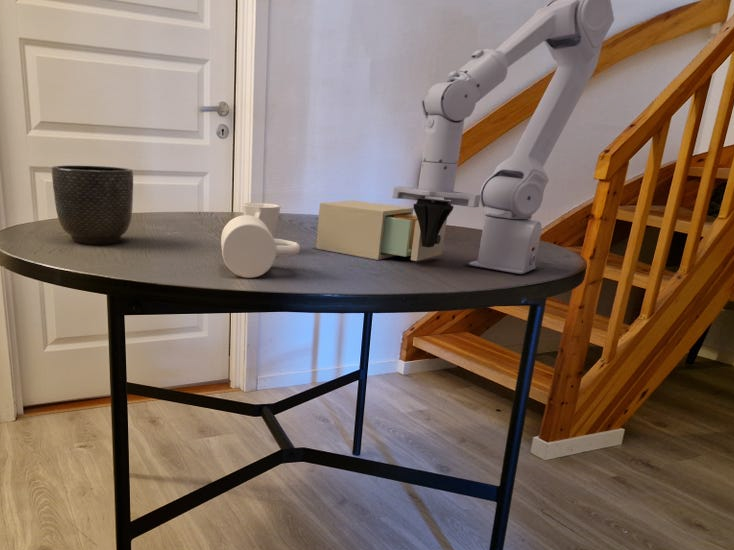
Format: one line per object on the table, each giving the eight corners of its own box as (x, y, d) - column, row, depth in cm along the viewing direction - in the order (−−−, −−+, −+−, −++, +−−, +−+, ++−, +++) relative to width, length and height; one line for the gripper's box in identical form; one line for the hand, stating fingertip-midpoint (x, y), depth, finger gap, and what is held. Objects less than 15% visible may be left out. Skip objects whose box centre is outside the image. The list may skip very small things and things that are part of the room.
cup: (279, 247, 118) (282, 204, 115) (273, 256, 108) (276, 210, 105) (243, 244, 118) (245, 201, 115) (234, 253, 109) (236, 207, 106)
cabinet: (407, 253, 119) (413, 207, 116) (378, 260, 111) (383, 211, 108) (348, 243, 127) (352, 200, 124) (316, 248, 118) (319, 203, 116)
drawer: (448, 255, 114) (453, 218, 111) (423, 262, 106) (428, 222, 104) (382, 244, 122) (386, 209, 119) (355, 250, 114) (358, 212, 112)
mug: (221, 277, 91) (222, 222, 88) (220, 263, 100) (221, 213, 97) (301, 280, 92) (305, 225, 89) (293, 266, 101) (296, 217, 98)
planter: (143, 237, 120) (142, 168, 115) (121, 250, 107) (118, 172, 102) (74, 233, 121) (70, 164, 116) (43, 244, 107) (37, 167, 103)
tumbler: (421, 247, 114) (425, 217, 112) (408, 250, 110) (412, 219, 108) (396, 243, 117) (400, 214, 115) (382, 246, 113) (386, 215, 111)
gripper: (388, 159, 101) (378, 242, 106) (473, 165, 93) (459, 255, 97) (407, 159, 106) (397, 238, 111) (490, 165, 98) (476, 251, 103)
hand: (427, 246), depth 104 cm, fingers closed
